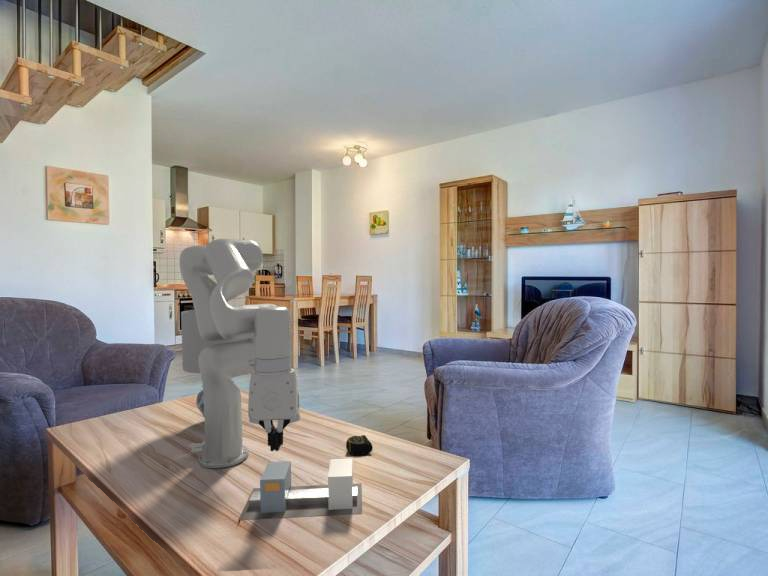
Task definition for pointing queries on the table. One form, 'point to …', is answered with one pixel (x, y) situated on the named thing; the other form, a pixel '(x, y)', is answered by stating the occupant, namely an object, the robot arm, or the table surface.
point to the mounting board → (302, 507)
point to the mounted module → (340, 484)
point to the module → (275, 486)
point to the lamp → (194, 348)
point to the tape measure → (358, 445)
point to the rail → (301, 497)
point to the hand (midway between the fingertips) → (275, 448)
